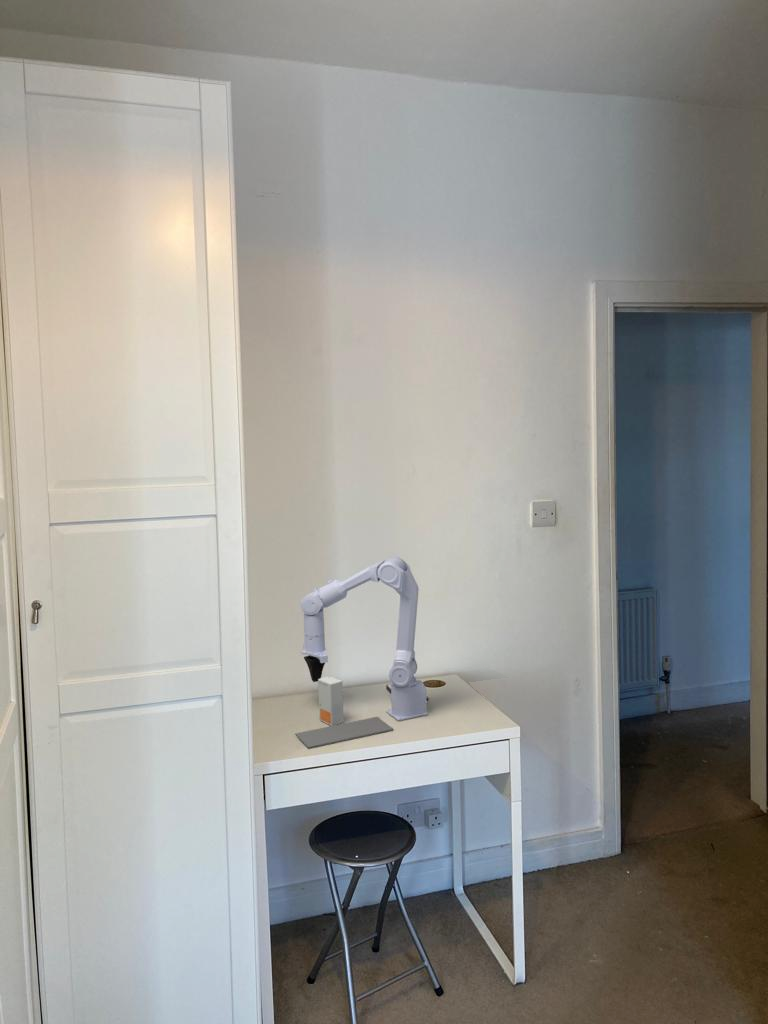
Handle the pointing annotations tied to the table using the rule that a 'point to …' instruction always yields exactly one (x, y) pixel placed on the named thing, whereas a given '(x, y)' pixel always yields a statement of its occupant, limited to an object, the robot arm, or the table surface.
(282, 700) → the table surface
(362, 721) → the mat
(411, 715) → the robot arm
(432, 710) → the table surface
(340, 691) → the skincare box
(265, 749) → the table surface
